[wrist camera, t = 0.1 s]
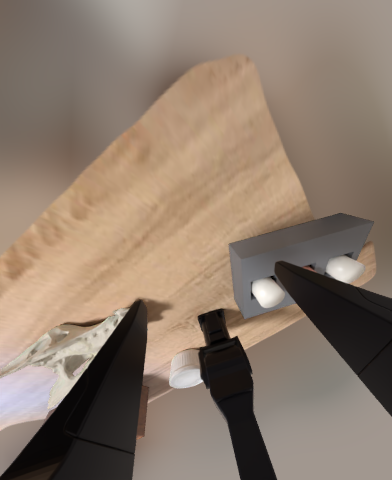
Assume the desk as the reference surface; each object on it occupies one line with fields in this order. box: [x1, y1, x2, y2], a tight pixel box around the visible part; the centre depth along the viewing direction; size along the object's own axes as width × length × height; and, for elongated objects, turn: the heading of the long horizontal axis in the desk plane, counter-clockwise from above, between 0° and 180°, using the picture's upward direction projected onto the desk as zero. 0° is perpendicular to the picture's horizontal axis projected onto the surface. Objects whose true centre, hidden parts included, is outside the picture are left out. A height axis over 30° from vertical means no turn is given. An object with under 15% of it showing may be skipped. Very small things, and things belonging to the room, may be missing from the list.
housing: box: [229, 213, 374, 319], centre depth 28 cm, size 16×23×5 cm
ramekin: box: [169, 349, 203, 388], centre depth 40 cm, size 11×11×5 cm
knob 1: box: [251, 276, 285, 308], centre depth 25 cm, size 4×4×4 cm
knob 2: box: [325, 255, 365, 284], centre depth 26 cm, size 4×4×4 cm
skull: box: [0, 308, 148, 409], centre depth 26 cm, size 12×8×25 cm
